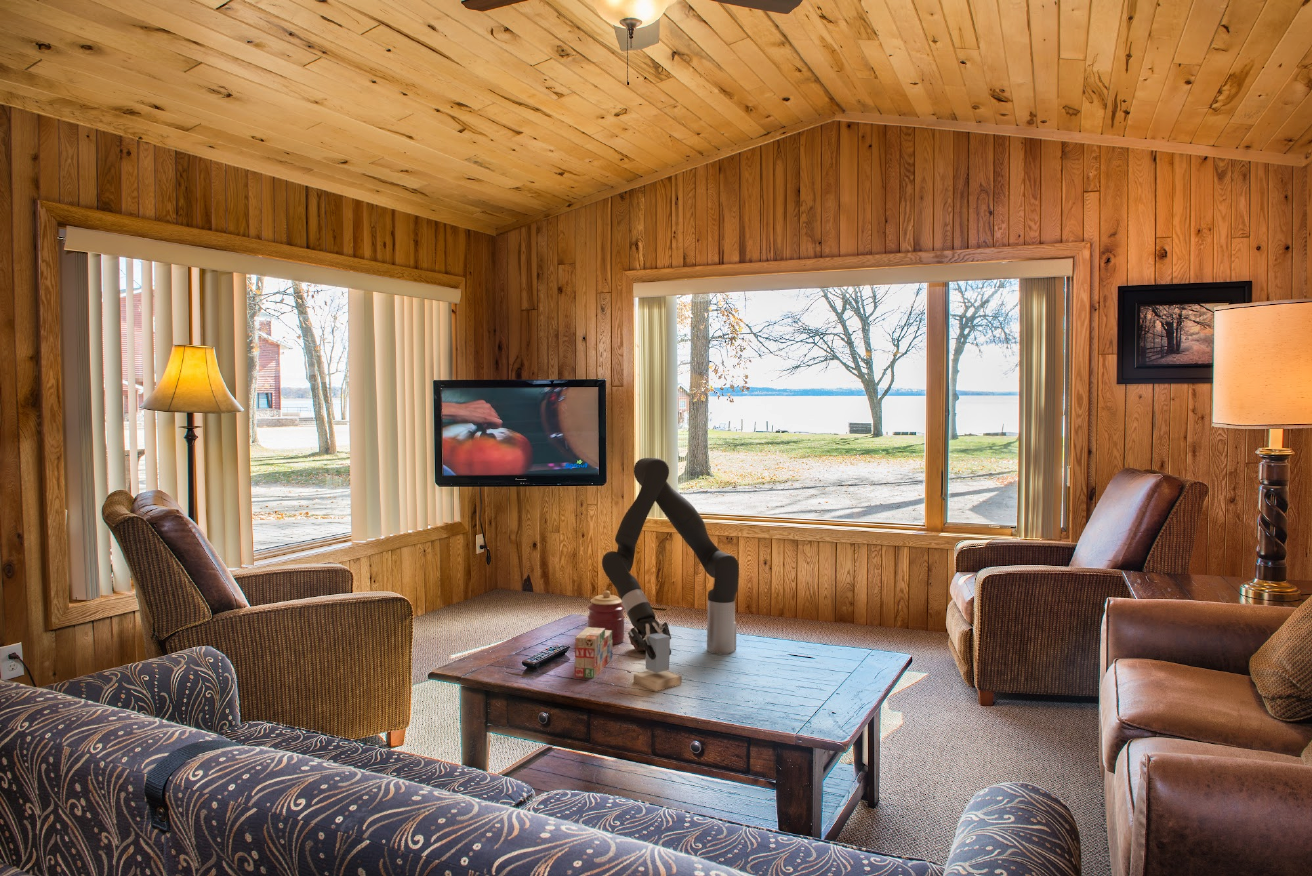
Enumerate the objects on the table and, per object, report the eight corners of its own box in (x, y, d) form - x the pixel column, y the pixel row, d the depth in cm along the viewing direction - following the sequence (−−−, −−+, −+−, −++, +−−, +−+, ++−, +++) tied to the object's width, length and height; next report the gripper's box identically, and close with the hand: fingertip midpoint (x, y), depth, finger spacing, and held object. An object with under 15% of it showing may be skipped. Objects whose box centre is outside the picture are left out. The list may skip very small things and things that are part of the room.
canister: (609, 647, 283) (610, 596, 283) (579, 641, 290) (580, 591, 290) (631, 639, 294) (632, 590, 294) (602, 633, 301) (602, 585, 301)
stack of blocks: (593, 657, 272) (594, 619, 272) (612, 658, 271) (613, 621, 271) (574, 677, 251) (575, 636, 251) (594, 678, 250) (595, 638, 250)
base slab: (658, 677, 254) (659, 667, 254) (681, 685, 246) (681, 675, 246) (633, 684, 247) (633, 674, 247) (655, 692, 240) (655, 682, 240)
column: (658, 665, 250) (659, 632, 250) (669, 669, 246) (669, 636, 246) (645, 668, 247) (646, 635, 247) (655, 672, 243) (656, 638, 243)
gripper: (624, 604, 247) (648, 654, 238) (662, 598, 256) (686, 646, 247) (613, 618, 252) (636, 667, 243) (651, 612, 261) (674, 659, 251)
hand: (661, 656), depth 245 cm, fingers closed on column, 5 cm apart
